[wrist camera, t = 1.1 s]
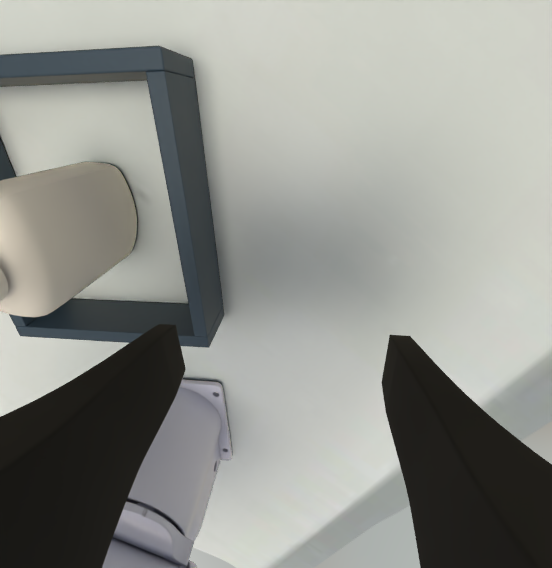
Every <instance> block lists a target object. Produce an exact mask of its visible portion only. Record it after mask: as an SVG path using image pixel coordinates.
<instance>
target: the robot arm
mask: <svg viewBox="0 0 552 568" xmlns="http://www.w3.org/2000/svg"><path fill="white" fill-rule="evenodd" d="M184 372H185V364H184V360H183V355H182V351H181V346H180V342H179V337H178V333H177V328H176V325H170V324H158V325H157V326H155V327H153V328H152V329H150V330H149V331H147V332H146V333H144V334H143V335H141V336H140V337H138V338H137V339H135V340H134V341H132V342H131V343H129V344H128V345H126V346H125V347H123V348H122V349H120V350H119V351H117V352H116V353H114V354H113V355H111V356H110V357H108V358H107V359H105V360H104V361H102V362H101V363H99V364H97V365H96V366H94V367H93V368H91V369H89V370H88V371H86V372H85V373H83V374H81V375H80V376H78V377H77V378H75V379H73V380H72V381H70V382H68V383H66V384H65V385H63V386H61V387H59V388H58V389H56V390H54V391H52V392H50V393H48V394H46V395H44V396H43V397H41V398H39V399H37V400H35V401H33V402H31V403H29V404H27V405H25V406H23V407H21V408H18V409H16V410H14V411H12V412H10V413H8V414H6V415H4V416H1V417H0V568H197V566H196V564H195V563H194V562H192V561H190V560H189V557H190V554H191V550H192V547H193V544H194V540H195V539H196V537H197V535H198V534H199V531H200V529H201V526H202V523H203V519H204V516H205V512H206V509H207V505H208V502H209V498H210V495H211V491H212V488H213V484H214V481H215V477H216V474H217V470H218V467H219V463H220V460H231V459H232V447H231V440H230V434H229V427H228V420H227V413H226V406H225V400H224V393H223V387H222V385H221V384H220V383H218V382H210V381H197V380H183V379H182V378H183V375H184ZM382 387H383V395H384V402H385V408H386V414H387V417H388V421H389V425H390V429H391V433H392V436H393V440H394V444H395V447H396V451H397V455H398V458H399V462H400V466H401V469H402V473H403V477H404V480H405V484H406V488H407V493H408V497H409V502H410V507H411V513H412V518H413V524H414V530H415V536H416V541H417V548H418V553H419V560H420V566H421V568H552V464H550V463H549V462H547V461H546V460H545V459H543V458H542V457H540V456H539V455H538V454H536V453H535V452H533V451H532V450H531V449H530V448H529V447H527V446H526V445H525V444H523V443H522V442H521V441H520V440H518V439H517V438H516V437H515V436H513V435H512V434H511V433H510V432H508V431H507V430H506V429H505V428H503V427H502V426H501V425H500V424H498V423H497V422H496V421H495V420H494V419H493V418H491V417H490V416H489V415H488V414H487V413H486V412H485V411H483V410H482V409H481V408H480V407H479V406H478V405H477V404H476V403H475V402H474V401H472V400H471V399H470V398H469V397H468V396H467V395H466V394H465V393H464V392H463V391H462V390H461V389H460V388H459V387H458V386H457V385H456V384H455V383H454V382H453V381H452V380H451V379H450V378H449V377H448V376H447V375H446V374H445V373H444V372H443V371H442V370H441V369H440V368H439V367H438V366H437V365H436V364H435V363H434V362H433V361H432V359H431V358H430V357H429V356H428V355H427V354H426V353H425V352H424V351H423V350H422V349H421V348H420V346H419V345H418V344H417V343H416V342H415V341H414V340H413V339H412V338H411V337H410V336H399V335H390V338H389V343H388V349H387V355H386V361H385V366H384V372H383V378H382ZM216 392H217V393H216Z"/></svg>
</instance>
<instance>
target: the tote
mask: <svg viewBox="0 0 552 568" xmlns="http://www.w3.org/2000/svg"><path fill="white" fill-rule="evenodd" d="M143 80H147V81H148V87H149V92H150V98H151V103H152V108H153V114H154V119H155V125H156V130H157V135H158V141H159V146H160V152H161V157H162V162H163V168H164V173H165V179H166V184H167V189H168V195H169V200H170V206H171V211H172V216H173V222H174V227H175V233H176V238H177V243H178V249H179V254H180V260H181V265H182V270H183V276H184V281H185V287H186V292H187V297H188V303H189V304H175V303H153V302H130V301H107V300H84V299H70V300H69V301H67V302H66V303H64V304H63V305H61V306H60V307H59V308H57V309H56V310H54V311H53V312H51V313H49V314H47V315H45V316H40V317H23V316H16V315H11V314H9V315H10V317H11V319H12V321H13V323H14V325H15V326H16V329H17V331H18V333H19V335H20V336H28V337H44V338H61V339H77V340H94V341H110V342H127V343H131V342H132V341H134V340H135V339H137V338H138V337H140V336H141V335H143V334H144V333H146V332H147V331H149V330H150V329H152V328H153V327H155V326H157V325H158V324H170V325H176V328H177V333H178V337H179V342H180V346H193V347H209V346H210V344H211V342H212V340H213V338H214V336H215V334H216V331H217V329H218V327H219V325H220V323H221V321H222V319H223V316H224V309H223V300H222V292H221V284H220V276H219V268H218V260H217V252H216V244H215V236H214V228H213V220H212V212H211V204H210V196H209V188H208V180H207V172H206V164H205V156H204V148H203V140H202V132H201V124H200V116H199V108H198V100H197V92H196V84H195V79H194V70H193V62H192V59H191V58H188V57H186V56H183V55H181V54H178V53H176V52H174V51H171V50H169V49H166V48H164V47H161V46H146V47H128V48H111V49H93V50H76V51H58V52H41V53H23V54H6V55H0V87H6V86H29V85H52V84H74V83H97V82H120V81H143ZM14 177H16V176H15V174H14V171H13V169H12V166H11V164H10V161H9V159H8V156H7V154H6V151H5V149H4V146H3V144H2V141H1V139H0V180H5V179H9V178H14Z"/></svg>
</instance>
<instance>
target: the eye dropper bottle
mask: <svg viewBox="0 0 552 568" xmlns="http://www.w3.org/2000/svg"><path fill="white" fill-rule="evenodd" d="M136 234H137V216H136V209H135V205H134V201H133V198H132V195H131V192H130V189H129V187H128V185H127V183H126V181H125V179H124V177H123V175H122V174H121V172H120V171H119V170H118V169H117V168H116V167H115V166H112V165H110V164H104V163H96V162H81V163H77V164H72V165H67V166H63V167H58V168H54V169H49V170H45V171H40V172H36V173H31V174H27V175H23V176H18V177H14V178H9V179H5V180H0V311H2V312H5V313H7V314H11V315H16V316H23V317H40V316H45V315H47V314H49V313H51V312H53V311H54V310H56V309H57V308H59V307H60V306H61V305H63V304H64V303H66V302H67V301H69V300H70V299H71V298H73V297H74V296H75V295H77V294H78V293H79V292H81V291H82V290H83V289H85V288H86V287H87V286H89V285H90V284H91V283H93V282H94V281H95V280H97V279H98V278H99V277H101V276H102V275H103V274H105V273H106V272H107V271H109V270H110V269H111V268H112V267H114V266H115V265H116V264H118V263H119V262H120V261H122V260H123V259H124V258H126V257H127V256H128V255H129V254H130V253H131V252H132V249H133V247H134V244H135V240H136Z"/></svg>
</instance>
